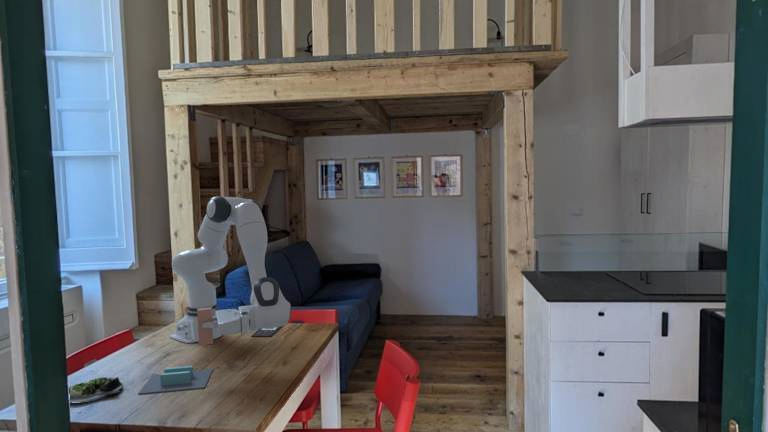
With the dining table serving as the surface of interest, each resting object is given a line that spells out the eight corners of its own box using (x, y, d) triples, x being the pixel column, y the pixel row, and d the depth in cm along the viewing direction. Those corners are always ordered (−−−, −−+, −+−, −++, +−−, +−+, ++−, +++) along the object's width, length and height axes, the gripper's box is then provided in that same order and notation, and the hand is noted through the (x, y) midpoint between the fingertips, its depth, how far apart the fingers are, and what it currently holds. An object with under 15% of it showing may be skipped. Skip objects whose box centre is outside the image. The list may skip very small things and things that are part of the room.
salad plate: (56, 415, 140) (55, 399, 140) (46, 397, 153) (45, 382, 153) (129, 394, 153) (128, 380, 153) (114, 379, 166) (113, 366, 166)
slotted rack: (160, 385, 158) (160, 375, 158) (165, 378, 164) (165, 368, 164) (189, 382, 160) (189, 372, 159) (193, 375, 166) (193, 365, 166)
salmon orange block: (212, 341, 166) (211, 307, 165) (213, 343, 164) (211, 308, 163) (198, 343, 164) (197, 308, 164) (199, 345, 162) (197, 310, 161)
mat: (138, 394, 152) (138, 393, 152) (152, 375, 168) (152, 374, 168) (204, 388, 156) (204, 387, 156) (212, 370, 172) (212, 369, 172)
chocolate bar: (250, 335, 210) (265, 324, 228) (251, 338, 210) (265, 326, 228) (271, 335, 209) (283, 324, 227) (271, 338, 209) (283, 326, 227)
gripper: (241, 303, 178) (201, 307, 173) (247, 316, 159) (202, 321, 154) (242, 320, 178) (202, 325, 173) (247, 335, 159) (203, 341, 154)
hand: (202, 323), depth 163 cm, fingers closed on salmon orange block, 2 cm apart
